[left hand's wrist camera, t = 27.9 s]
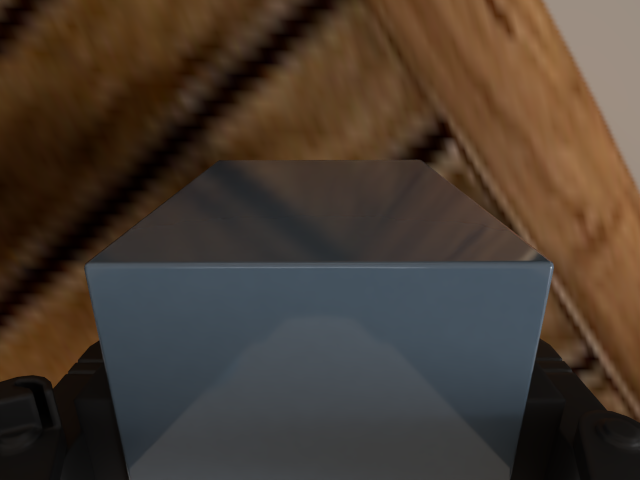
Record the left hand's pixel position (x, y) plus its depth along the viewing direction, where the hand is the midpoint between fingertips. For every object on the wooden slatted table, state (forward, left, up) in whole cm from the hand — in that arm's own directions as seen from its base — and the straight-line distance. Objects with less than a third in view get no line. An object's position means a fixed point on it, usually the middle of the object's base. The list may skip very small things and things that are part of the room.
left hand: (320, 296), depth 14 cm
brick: (0, 0, -3) cm, 3 cm away
